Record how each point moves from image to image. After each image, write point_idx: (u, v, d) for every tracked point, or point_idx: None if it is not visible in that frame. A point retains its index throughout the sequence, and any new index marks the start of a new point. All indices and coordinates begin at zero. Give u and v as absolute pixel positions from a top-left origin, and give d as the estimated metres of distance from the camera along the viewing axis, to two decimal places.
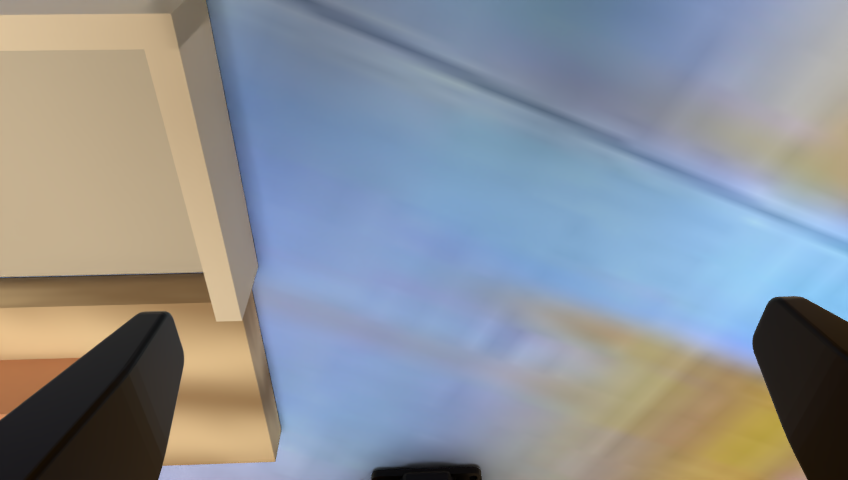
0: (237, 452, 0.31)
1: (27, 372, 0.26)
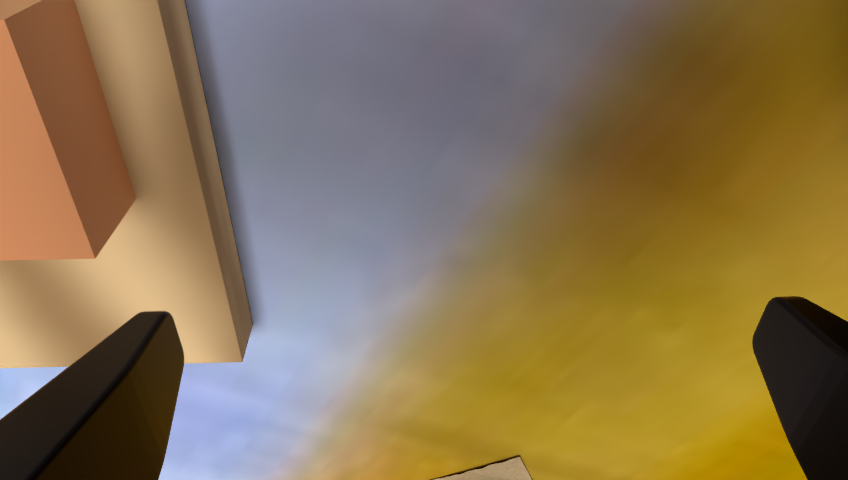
0: None
1: None
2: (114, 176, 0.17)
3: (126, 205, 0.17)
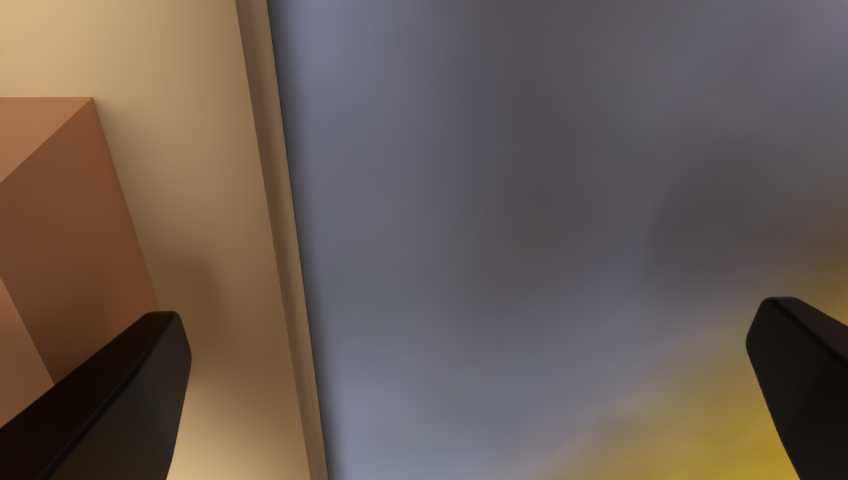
0: None
1: None
2: None
3: None
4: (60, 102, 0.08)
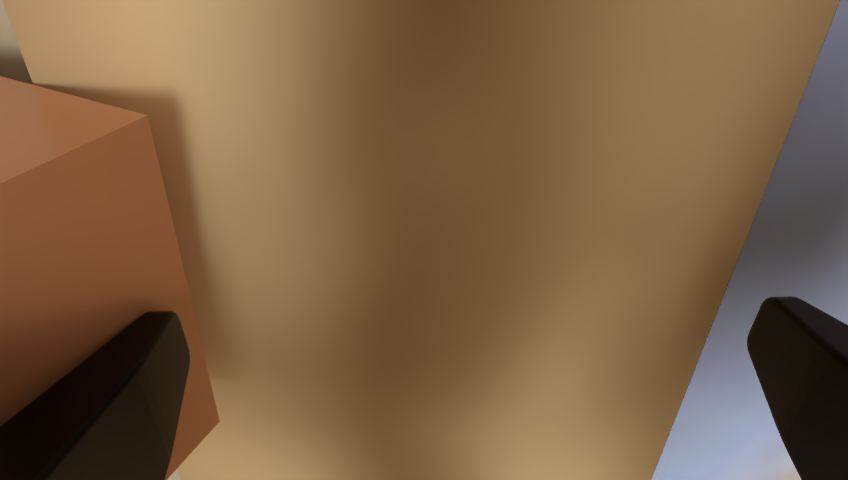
0: None
1: None
2: None
3: (192, 442, 0.10)
4: (115, 114, 0.08)
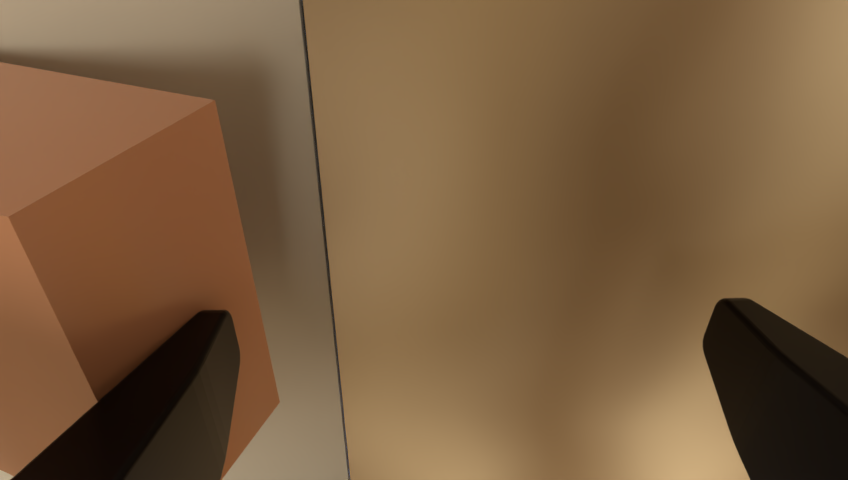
0: None
1: None
2: (243, 389, 0.10)
3: (257, 423, 0.11)
4: (183, 101, 0.08)
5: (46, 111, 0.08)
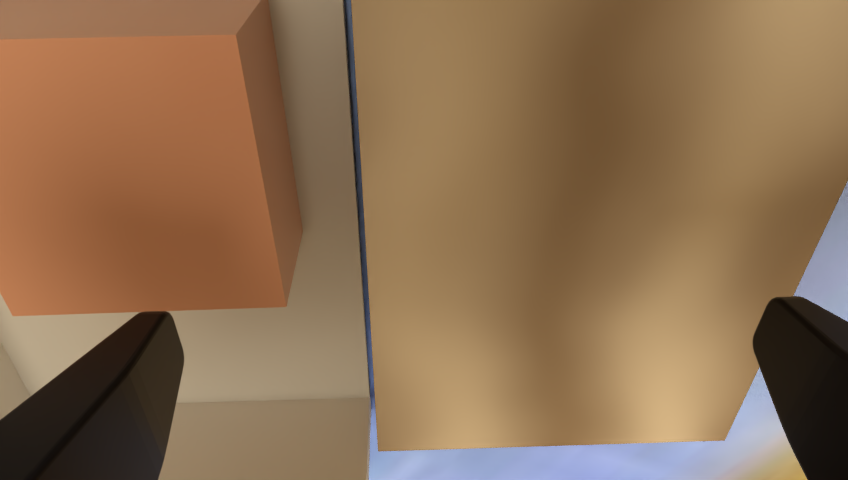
0: None
1: None
2: (292, 208, 0.15)
3: (299, 240, 0.15)
4: None
5: (165, 7, 0.11)
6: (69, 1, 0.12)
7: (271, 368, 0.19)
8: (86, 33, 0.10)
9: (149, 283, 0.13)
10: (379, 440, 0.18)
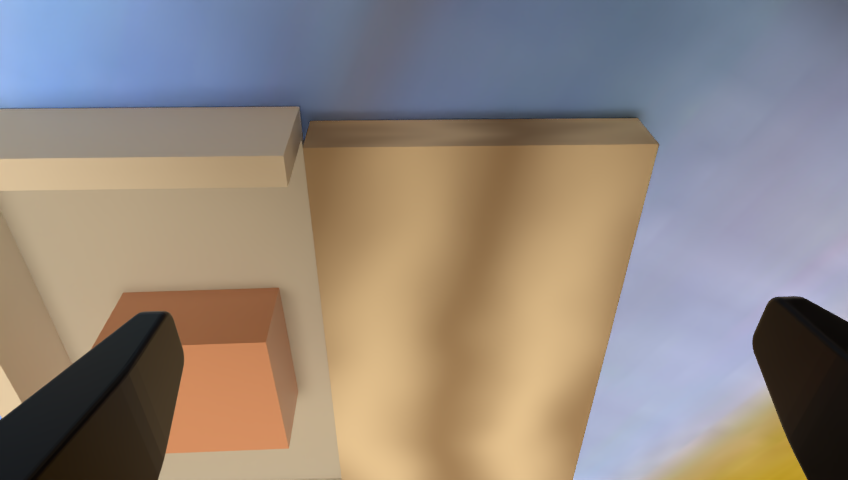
0: (619, 194, 0.20)
1: None
2: (292, 386, 0.26)
3: (295, 400, 0.26)
4: (269, 290, 0.23)
5: (227, 307, 0.22)
6: (177, 300, 0.23)
7: (278, 462, 0.30)
8: (193, 339, 0.21)
9: (215, 439, 0.24)
10: None
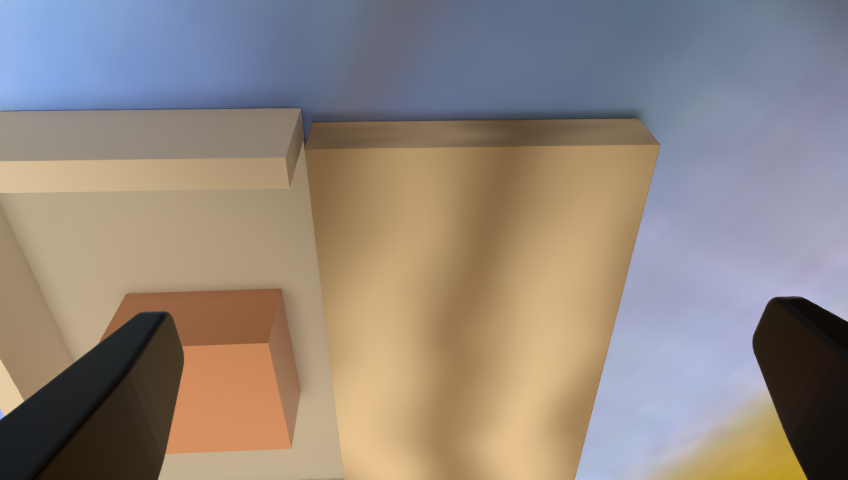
0: (620, 195, 0.20)
1: None
2: (294, 386, 0.26)
3: (298, 400, 0.26)
4: (271, 291, 0.23)
5: (230, 308, 0.23)
6: (179, 301, 0.23)
7: (281, 462, 0.30)
8: (196, 340, 0.21)
9: (218, 439, 0.24)
10: None
